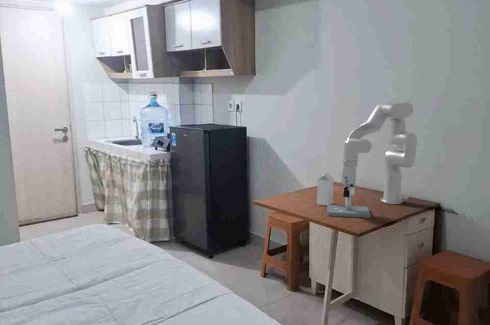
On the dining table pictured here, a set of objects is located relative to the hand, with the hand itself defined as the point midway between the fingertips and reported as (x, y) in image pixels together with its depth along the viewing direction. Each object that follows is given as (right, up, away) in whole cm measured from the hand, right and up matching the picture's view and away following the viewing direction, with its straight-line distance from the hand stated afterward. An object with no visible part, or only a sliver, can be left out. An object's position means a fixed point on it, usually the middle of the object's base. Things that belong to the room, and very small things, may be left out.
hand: (348, 195), depth 232 cm
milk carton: (-9, -7, +19) cm, 22 cm away
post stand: (0, -10, +2) cm, 10 cm away
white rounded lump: (0, 0, 0) cm, 0 cm away
